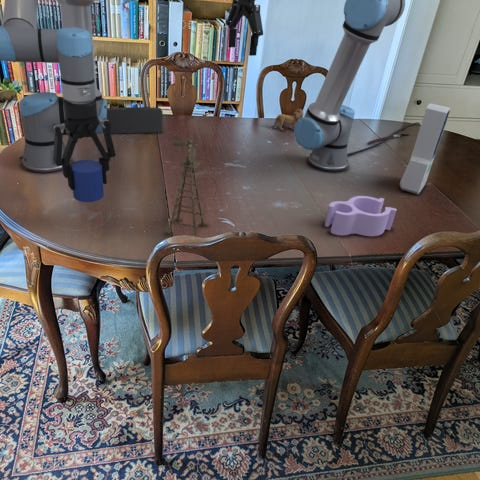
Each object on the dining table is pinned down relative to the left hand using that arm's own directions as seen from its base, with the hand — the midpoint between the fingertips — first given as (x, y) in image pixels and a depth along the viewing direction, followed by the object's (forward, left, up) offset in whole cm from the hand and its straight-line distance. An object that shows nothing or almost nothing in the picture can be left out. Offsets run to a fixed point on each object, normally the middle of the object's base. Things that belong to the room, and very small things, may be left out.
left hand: (87, 184), depth 124 cm
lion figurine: (+51, +101, -12) cm, 114 cm away
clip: (+76, +20, -12) cm, 79 cm away
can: (0, 0, -3) cm, 3 cm away
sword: (+98, +105, -12) cm, 144 cm away
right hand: (+30, +76, +23) cm, 85 cm away
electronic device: (+99, +55, -12) cm, 114 cm away
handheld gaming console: (-11, +72, -12) cm, 74 cm away
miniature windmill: (+26, +4, -12) cm, 29 cm away
